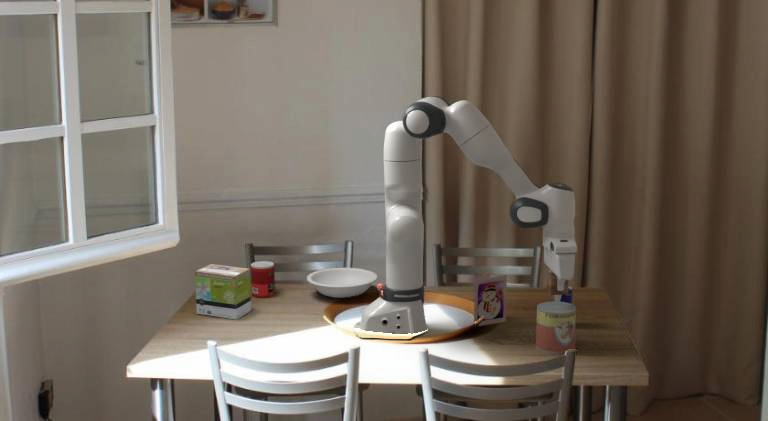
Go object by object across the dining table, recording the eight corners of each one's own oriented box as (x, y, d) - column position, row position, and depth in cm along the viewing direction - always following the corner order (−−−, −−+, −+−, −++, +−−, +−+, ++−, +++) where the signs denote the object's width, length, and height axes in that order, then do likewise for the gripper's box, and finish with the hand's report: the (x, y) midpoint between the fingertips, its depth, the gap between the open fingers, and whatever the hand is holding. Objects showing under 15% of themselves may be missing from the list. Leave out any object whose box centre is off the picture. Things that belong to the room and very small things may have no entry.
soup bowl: (315, 284, 364) (314, 266, 363) (382, 286, 361) (382, 268, 360) (300, 304, 341) (299, 285, 340) (372, 307, 338) (371, 287, 336)
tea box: (195, 315, 330) (193, 270, 327) (212, 306, 339) (210, 262, 336) (236, 320, 325) (234, 275, 322) (252, 311, 334) (250, 267, 331)
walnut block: (550, 295, 293) (551, 278, 292) (546, 290, 298) (547, 273, 297) (568, 294, 293) (568, 277, 292) (563, 289, 298) (564, 272, 297)
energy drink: (571, 328, 315) (572, 290, 312) (553, 327, 316) (554, 289, 314) (571, 323, 320) (572, 285, 318) (554, 322, 321) (555, 284, 319)
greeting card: (475, 327, 316) (476, 280, 313) (463, 320, 323) (463, 274, 320) (507, 322, 321) (508, 275, 318) (494, 315, 328) (495, 270, 325)
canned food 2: (549, 355, 292) (550, 314, 289) (528, 343, 302) (529, 304, 299) (582, 349, 296) (584, 309, 294) (561, 338, 306) (562, 299, 304)
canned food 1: (273, 298, 348) (272, 266, 345) (250, 298, 348) (249, 266, 346) (276, 291, 355) (275, 261, 353) (253, 292, 355) (252, 261, 353)
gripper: (539, 232, 302) (538, 277, 305) (556, 248, 282) (555, 297, 285) (560, 231, 303) (559, 276, 306) (578, 248, 283) (577, 296, 286)
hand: (557, 287), depth 295 cm, fingers closed on walnut block, 5 cm apart
